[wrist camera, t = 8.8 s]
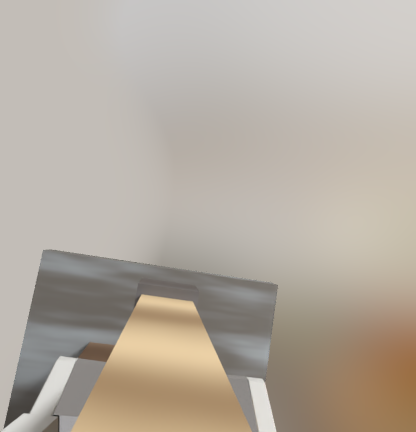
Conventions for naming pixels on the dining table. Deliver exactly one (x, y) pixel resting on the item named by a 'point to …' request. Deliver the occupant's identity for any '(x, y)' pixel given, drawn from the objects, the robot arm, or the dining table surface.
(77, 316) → the brown tall block
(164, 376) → the light wooden bar
